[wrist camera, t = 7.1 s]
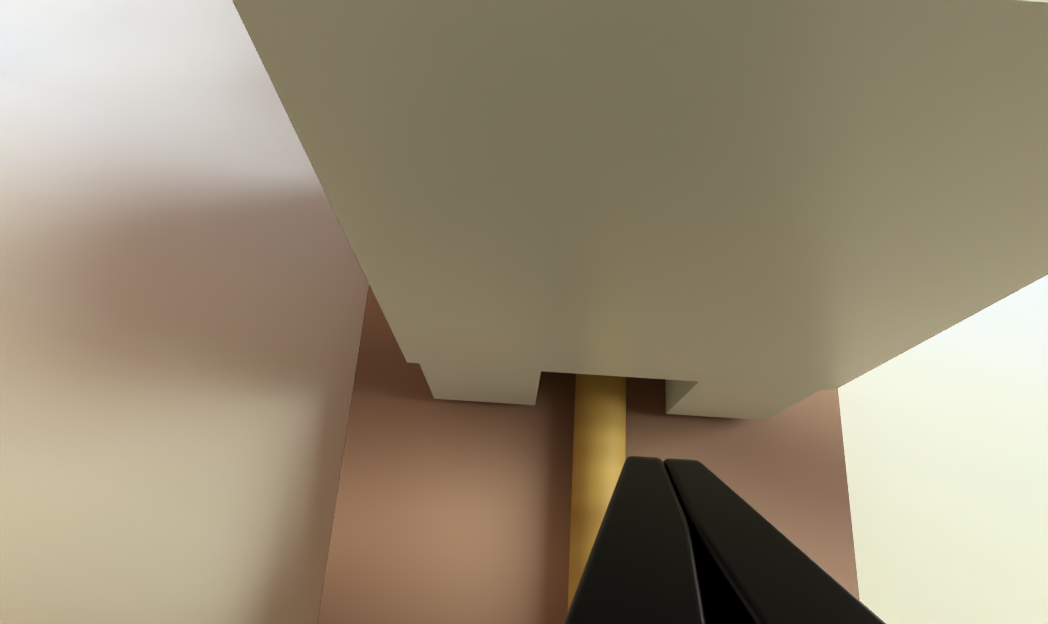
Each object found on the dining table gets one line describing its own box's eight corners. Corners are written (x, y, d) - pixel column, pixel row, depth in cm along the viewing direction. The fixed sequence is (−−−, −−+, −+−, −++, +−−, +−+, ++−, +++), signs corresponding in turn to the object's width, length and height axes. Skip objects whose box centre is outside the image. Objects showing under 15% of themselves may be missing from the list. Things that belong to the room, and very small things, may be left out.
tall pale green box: (776, 420, 14) (1494, 32, 4) (423, 397, 14) (207, -55, 4) (758, 161, 16) (1185, -525, 6) (453, 141, 16) (365, -582, 6)
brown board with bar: (881, 1157, 11) (1224, 1696, 6) (260, 1118, 11) (35, 1624, 6) (781, 46, 19) (887, -154, 14) (419, 22, 19) (386, -188, 14)
